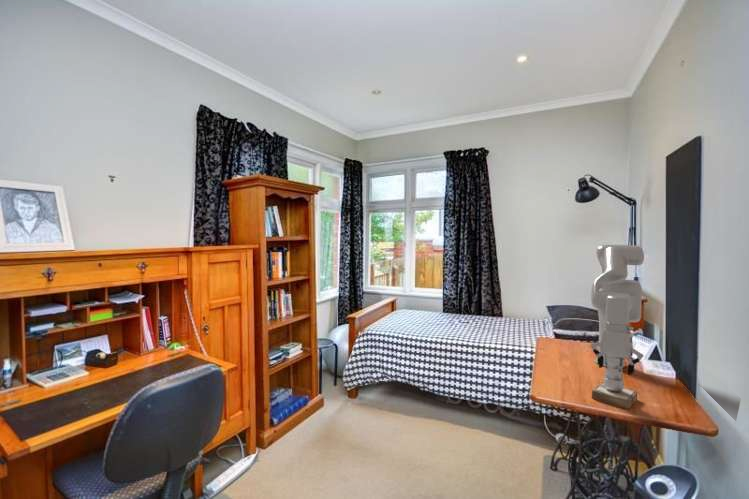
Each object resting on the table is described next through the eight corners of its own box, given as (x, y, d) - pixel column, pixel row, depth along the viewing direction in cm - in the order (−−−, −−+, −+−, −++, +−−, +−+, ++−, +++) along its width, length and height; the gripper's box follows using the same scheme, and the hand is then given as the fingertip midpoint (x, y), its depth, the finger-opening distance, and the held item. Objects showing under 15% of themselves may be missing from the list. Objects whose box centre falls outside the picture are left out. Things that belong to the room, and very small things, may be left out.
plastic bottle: (624, 395, 134) (626, 343, 133) (603, 391, 138) (604, 340, 137) (623, 389, 140) (624, 339, 139) (602, 385, 143) (604, 336, 142)
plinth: (601, 389, 147) (602, 381, 147) (636, 399, 138) (637, 391, 138) (591, 398, 139) (592, 390, 139) (628, 409, 130) (628, 400, 130)
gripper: (646, 330, 133) (644, 374, 134) (594, 321, 146) (593, 362, 147) (641, 333, 128) (639, 380, 129) (588, 324, 141) (587, 366, 142)
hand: (615, 370), depth 138 cm, fingers open, 9 cm apart
